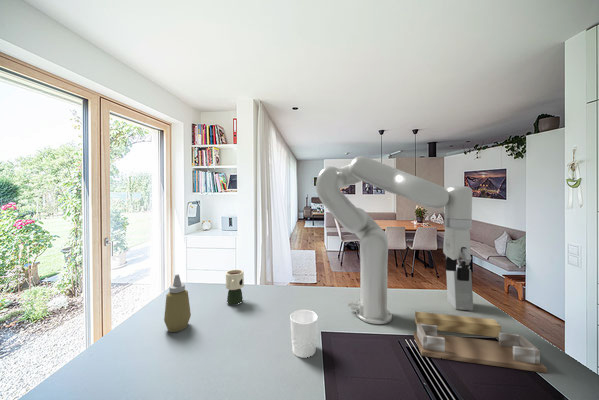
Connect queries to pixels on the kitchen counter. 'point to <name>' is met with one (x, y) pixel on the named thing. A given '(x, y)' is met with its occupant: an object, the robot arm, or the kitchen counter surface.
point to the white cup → (304, 332)
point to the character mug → (234, 285)
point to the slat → (459, 324)
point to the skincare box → (459, 291)
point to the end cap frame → (480, 349)
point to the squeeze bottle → (177, 307)
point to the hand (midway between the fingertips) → (456, 275)
